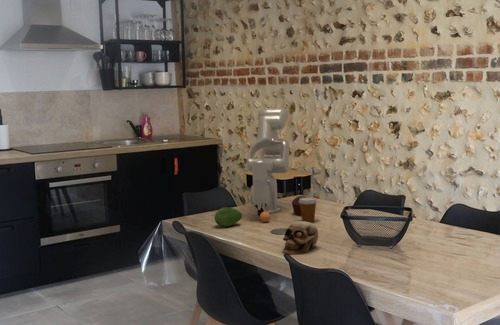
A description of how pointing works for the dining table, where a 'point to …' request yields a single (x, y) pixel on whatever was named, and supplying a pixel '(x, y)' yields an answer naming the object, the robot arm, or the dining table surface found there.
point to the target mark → (279, 231)
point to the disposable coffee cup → (307, 208)
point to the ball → (265, 216)
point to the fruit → (227, 216)
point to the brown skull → (300, 237)
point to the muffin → (297, 205)
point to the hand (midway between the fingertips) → (260, 216)
